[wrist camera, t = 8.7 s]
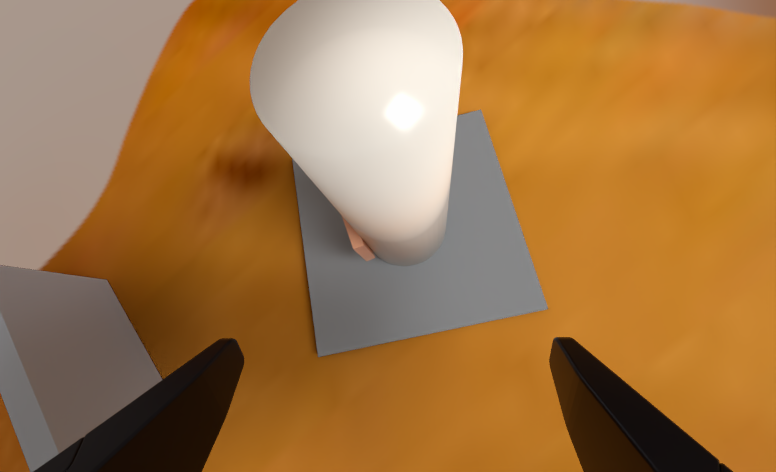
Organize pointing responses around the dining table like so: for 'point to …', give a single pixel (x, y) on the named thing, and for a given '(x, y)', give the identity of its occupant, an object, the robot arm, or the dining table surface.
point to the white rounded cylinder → (368, 114)
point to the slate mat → (427, 279)
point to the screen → (65, 358)
